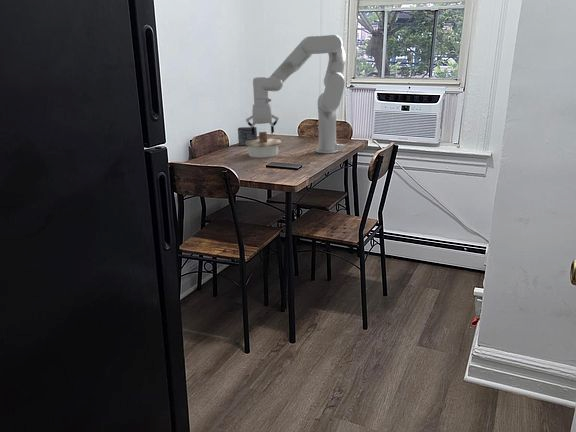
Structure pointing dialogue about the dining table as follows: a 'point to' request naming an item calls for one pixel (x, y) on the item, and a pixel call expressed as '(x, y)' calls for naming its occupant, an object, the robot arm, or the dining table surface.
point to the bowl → (263, 151)
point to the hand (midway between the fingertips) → (263, 134)
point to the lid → (263, 141)
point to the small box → (246, 135)
